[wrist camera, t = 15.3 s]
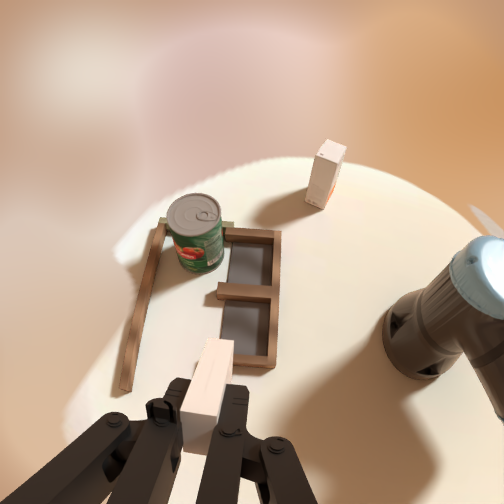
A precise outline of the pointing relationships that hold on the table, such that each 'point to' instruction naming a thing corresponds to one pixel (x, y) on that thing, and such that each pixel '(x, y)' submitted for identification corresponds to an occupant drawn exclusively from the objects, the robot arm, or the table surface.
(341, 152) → the skincare box
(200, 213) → the canned tomato
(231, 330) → the wooden rail frame
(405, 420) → the table surface
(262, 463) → the robot arm
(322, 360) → the table surface
